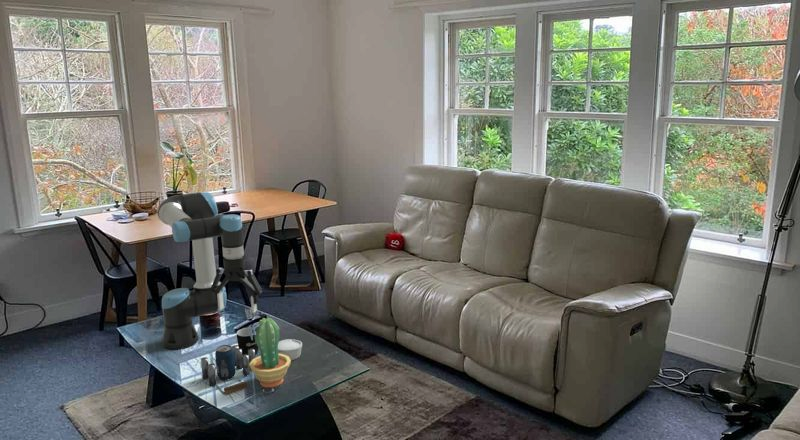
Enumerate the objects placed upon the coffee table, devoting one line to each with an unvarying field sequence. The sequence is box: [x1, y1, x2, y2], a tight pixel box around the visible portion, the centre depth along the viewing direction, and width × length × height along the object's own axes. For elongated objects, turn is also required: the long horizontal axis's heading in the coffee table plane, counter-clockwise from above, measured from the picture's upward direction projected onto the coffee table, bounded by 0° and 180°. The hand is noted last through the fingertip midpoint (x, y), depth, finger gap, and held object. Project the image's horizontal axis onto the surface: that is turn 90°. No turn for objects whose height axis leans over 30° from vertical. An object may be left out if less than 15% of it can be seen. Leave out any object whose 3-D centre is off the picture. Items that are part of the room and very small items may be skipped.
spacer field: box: [200, 344, 256, 387], centre depth 238 cm, size 13×20×8 cm, turn 126°
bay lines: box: [216, 384, 225, 395], centre depth 229 cm, size 7×9×1 cm
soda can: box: [214, 344, 236, 381], centre depth 235 cm, size 7×7×12 cm
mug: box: [236, 326, 259, 356], centre depth 255 cm, size 12×9×10 cm
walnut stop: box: [223, 380, 249, 396], centre depth 225 cm, size 1×8×2 cm, turn 125°
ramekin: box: [278, 338, 303, 361], centre depth 253 cm, size 11×11×5 cm
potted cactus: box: [249, 317, 292, 388], centre depth 229 cm, size 15×15×25 cm
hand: (237, 310), depth 231 cm, fingers open, 13 cm apart
